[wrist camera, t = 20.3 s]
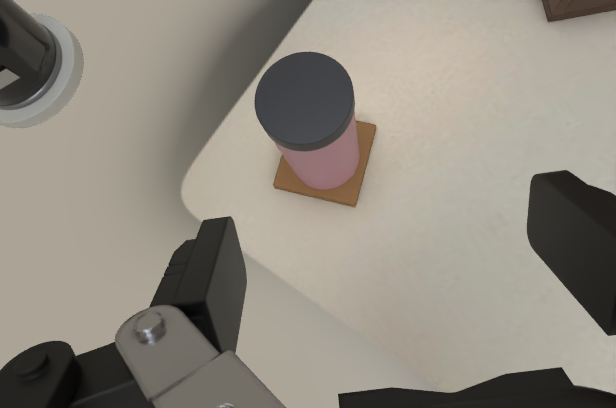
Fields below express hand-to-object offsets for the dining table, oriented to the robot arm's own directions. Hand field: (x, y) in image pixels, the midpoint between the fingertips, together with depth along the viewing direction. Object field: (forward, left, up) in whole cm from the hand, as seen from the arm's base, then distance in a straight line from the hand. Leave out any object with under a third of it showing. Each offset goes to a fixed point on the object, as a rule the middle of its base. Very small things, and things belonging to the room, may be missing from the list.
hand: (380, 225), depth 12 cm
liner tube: (-6, +7, -20) cm, 22 cm away
